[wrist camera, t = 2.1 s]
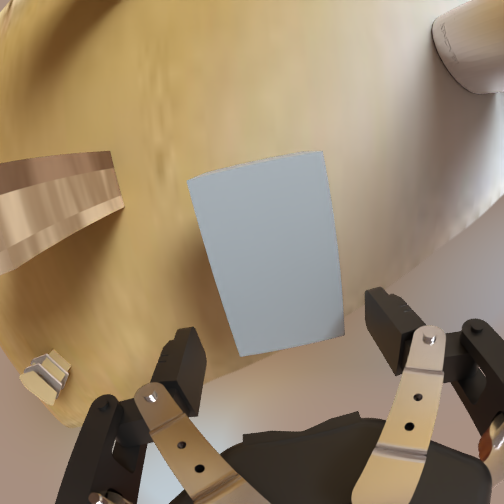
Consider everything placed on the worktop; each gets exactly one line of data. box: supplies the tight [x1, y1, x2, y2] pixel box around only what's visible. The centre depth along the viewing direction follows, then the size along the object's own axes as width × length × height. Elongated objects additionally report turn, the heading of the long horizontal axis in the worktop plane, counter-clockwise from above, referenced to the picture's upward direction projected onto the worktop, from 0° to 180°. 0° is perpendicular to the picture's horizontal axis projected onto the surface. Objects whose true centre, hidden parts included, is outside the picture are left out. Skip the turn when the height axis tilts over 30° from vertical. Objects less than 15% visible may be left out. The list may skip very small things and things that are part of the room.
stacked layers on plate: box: [19, 349, 71, 405], centre depth 26 cm, size 10×9×6 cm
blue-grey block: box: [187, 151, 345, 357], centre depth 17 cm, size 6×10×10 cm, turn 13°
